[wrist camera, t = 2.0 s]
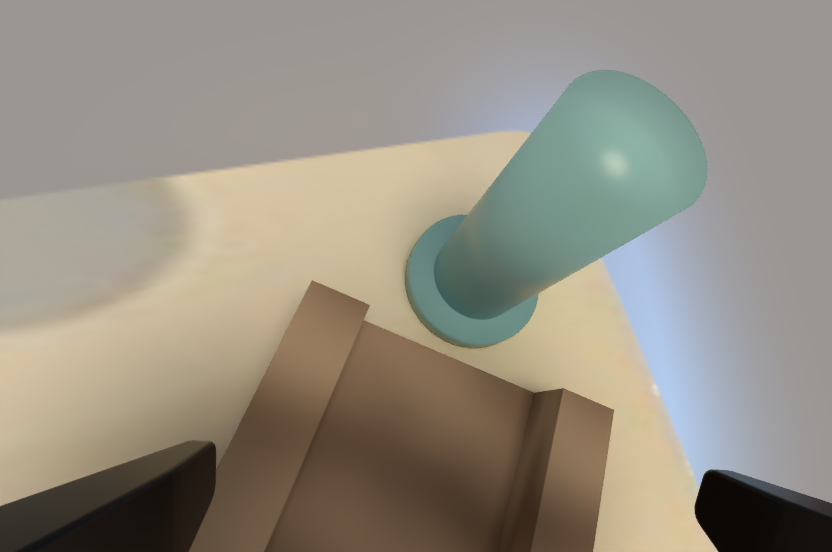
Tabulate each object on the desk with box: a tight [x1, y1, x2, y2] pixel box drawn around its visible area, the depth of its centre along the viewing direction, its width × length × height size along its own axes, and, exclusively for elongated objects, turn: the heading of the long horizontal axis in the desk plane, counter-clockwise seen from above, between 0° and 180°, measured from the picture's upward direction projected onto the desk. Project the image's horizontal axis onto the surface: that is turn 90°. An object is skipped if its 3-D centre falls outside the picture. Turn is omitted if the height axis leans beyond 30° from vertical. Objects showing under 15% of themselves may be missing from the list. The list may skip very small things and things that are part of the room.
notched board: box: [189, 281, 614, 552], centre depth 17 cm, size 12×14×4 cm
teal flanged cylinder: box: [405, 70, 707, 348], centre depth 17 cm, size 7×7×12 cm
